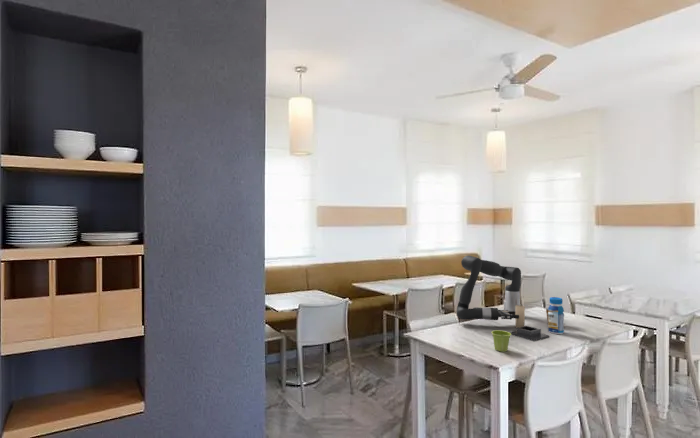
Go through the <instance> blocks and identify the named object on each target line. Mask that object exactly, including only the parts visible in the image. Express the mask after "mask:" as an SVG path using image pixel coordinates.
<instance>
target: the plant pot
mask: <svg viewBox="0 0 700 438" xmlns="http://www.w3.org/2000/svg"><path fill="white" fill-rule="evenodd" d="M509 332H510V331H509ZM509 332H508V331H506V330H499V329H498V330H497V329H495V330H492V331H491V334H492V337H493V344H494V345H493V346H494V351H497V352H498V351H499V352H501V353H503V352H505V353H506V352H508V350H509V343H510V338H511V336H512V335H511V333H509Z"/></svg>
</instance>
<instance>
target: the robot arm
mask: <svg viewBox="0 0 700 438" xmlns="http://www.w3.org/2000/svg"><path fill="white" fill-rule="evenodd" d="M460 264H461V266H462V268H463V269H464V270H466V271H470V273H469V274H470V275H469V278H468V279H467V281H466V282H465V283H464V285H463V286H462V287H461V290H460V294H459V298H458V299H459V300H458V303H457V306H456V316H457V317H458V318H459V319H461V320H466V321H467V320H484V321H487V320H488V321H499V318H500V319H501V320H513V319H515V318H516V319H519V315H515V306H516V305H521V302H520V301H521V300H520V299H521V298H520V296H521V285H522V271H521V269H520V268H519V267H517V266H503V265H501V264H500V263H498V262H495V261H492V260H485V259H481V258H479V257H477V256H473V255H465V256H463V257H462V259H461V263H460ZM480 273H481V274H484V275H487V276H491V277H499V278H502V279H504V280H507V281H511V283H510V284H507V285H505V288H504V290H505V291H504V292H505V293H504V296H505V297H504V301H503V309H499V308H498V307H472V308H469V306H470V303H471V301H472V297H473V292H474V288H475V285H476V282H477V281H478V277H479V275H480Z"/></svg>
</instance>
